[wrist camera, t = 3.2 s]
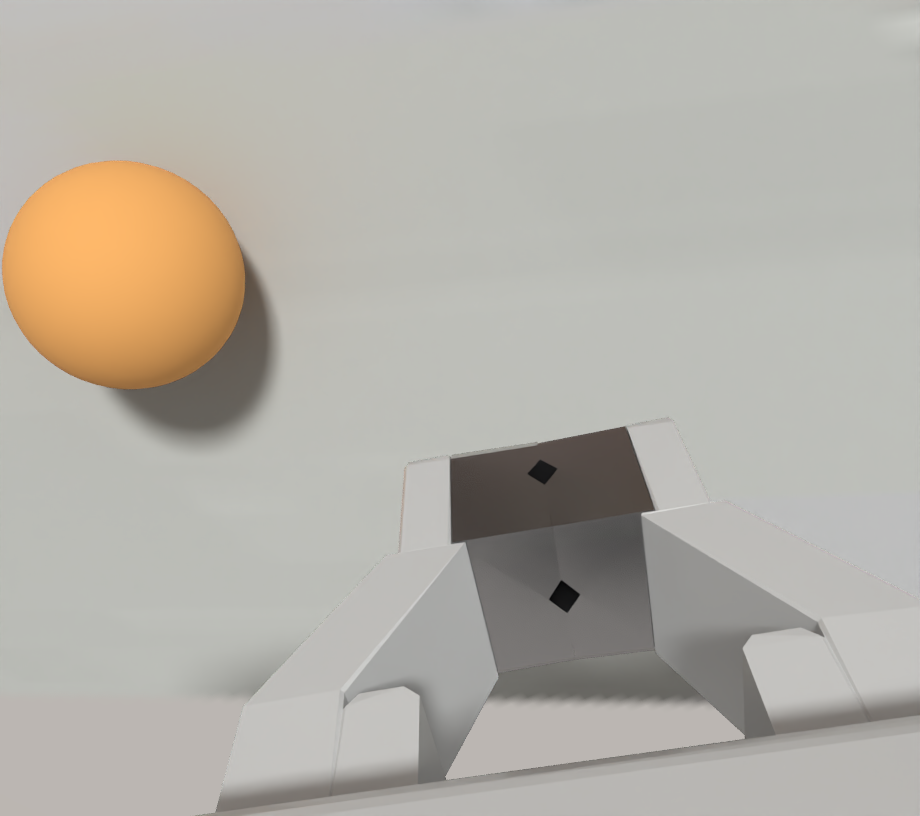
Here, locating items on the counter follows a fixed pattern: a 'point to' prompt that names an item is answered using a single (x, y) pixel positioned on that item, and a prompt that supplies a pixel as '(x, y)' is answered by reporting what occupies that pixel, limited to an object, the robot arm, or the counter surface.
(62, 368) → the ball
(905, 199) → the counter surface
